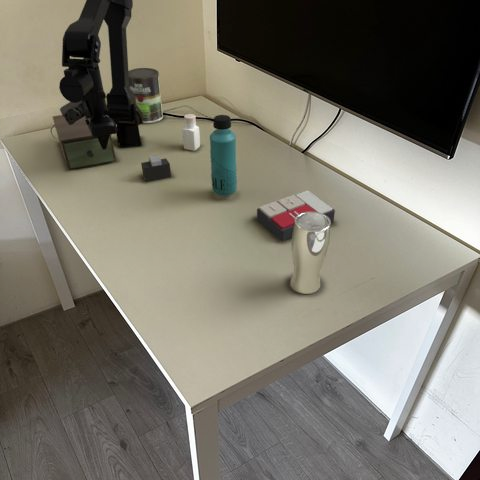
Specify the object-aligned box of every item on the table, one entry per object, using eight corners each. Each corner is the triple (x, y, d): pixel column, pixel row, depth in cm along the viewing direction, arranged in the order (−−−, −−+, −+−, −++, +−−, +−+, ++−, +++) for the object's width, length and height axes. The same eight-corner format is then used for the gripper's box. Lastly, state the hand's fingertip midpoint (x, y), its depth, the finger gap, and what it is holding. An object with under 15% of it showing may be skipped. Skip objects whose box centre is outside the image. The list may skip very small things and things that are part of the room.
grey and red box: (256, 205, 111) (308, 187, 116) (256, 221, 114) (307, 202, 119) (281, 228, 104) (336, 207, 109) (281, 244, 107) (334, 223, 112)
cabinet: (115, 161, 136) (110, 132, 131) (68, 169, 133) (60, 140, 127) (103, 137, 149) (98, 109, 143) (60, 144, 145) (52, 116, 139)
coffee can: (158, 124, 156) (153, 78, 146) (128, 122, 157) (121, 76, 147) (167, 112, 163) (162, 68, 153) (138, 111, 164) (131, 66, 154)
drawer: (115, 162, 134) (110, 139, 129) (71, 170, 131) (64, 146, 126) (102, 137, 146) (98, 115, 142) (62, 143, 143) (56, 121, 138)
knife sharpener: (167, 171, 132) (165, 153, 128) (171, 177, 129) (169, 159, 126) (143, 176, 130) (140, 158, 126) (146, 182, 127) (143, 163, 124)
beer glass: (285, 274, 98) (290, 211, 88) (318, 272, 99) (327, 209, 88) (290, 296, 93) (296, 232, 83) (325, 294, 94) (335, 230, 83)
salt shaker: (183, 149, 142) (180, 117, 135) (189, 144, 145) (186, 112, 138) (195, 151, 141) (193, 119, 134) (201, 146, 143) (199, 114, 137)
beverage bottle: (238, 189, 124) (237, 111, 110) (235, 202, 120) (234, 122, 106) (213, 188, 125) (210, 110, 111) (210, 201, 120) (205, 121, 106)
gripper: (52, 80, 121) (68, 140, 132) (63, 105, 108) (79, 169, 119) (96, 74, 124) (108, 133, 135) (111, 98, 111) (123, 161, 122)
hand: (104, 148), depth 128 cm, fingers closed
